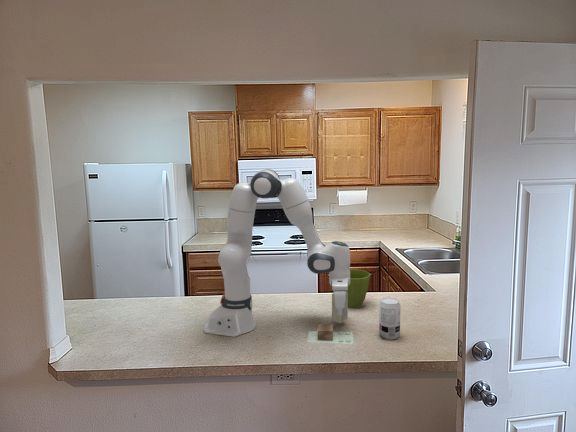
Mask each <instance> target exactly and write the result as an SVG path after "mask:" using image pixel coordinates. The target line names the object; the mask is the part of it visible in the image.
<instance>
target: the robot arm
mask: <svg viewBox="0 0 576 432" xmlns="http://www.w3.org/2000/svg"><path fill="white" fill-rule="evenodd" d="M276 198H277V199H278V201H279V203H280V204H281V206H282V210H283V212H284V214H285V216H286V218H287V219H288V222H289V223H290V224H291V225H292V226H295V227H296V228H298V229H299V232H300V233H301V236H302V237H303V240H304V242H305V244H306V248H307V260H306V262H307V263H306V265H307V267H308V269H309V271H310V272H312V273H314V274H317V275H320V274H327V273H328V274H329V275H328V279H329V280H328V281H329V282H328V284H329V285H330V286H331V290H332V291H333V292H332V293H334V301H335V307H336V308H337V309H338V315H342V309H344V307H345V300H346V292H347V290H348V286H349V285H350V270H351V269H350V267H351V250H350V247H349V245H348V244H347V243H345V242H342V241H337V240H335V241H331V242H330V243H328V244H327V245H325V244H324V243H323V242H322V241H321V239H320V237H319V234H318V232H317V229H316V227H315V225H314V222H313V221H314V219H313V210H312V206H311V204H310V200H309V197H308V196H307V193H306V191H305V189H304V188H303V186H302V185H301V183H300V181H299V180H298V179H296V178H294V177H289V178H288V177H287V178H284V179H281V177H280V175H279V174H278V173H277V172H276V171H275V170H274V169H269V168H268V169H267V168H266V169H262V170H259V171H258V172H257V173H256V174H254V175H253V176H252V178H251V179H250V181H249V182H239V183H237V184H235V185H234V186H233V190H232V191H231V196H230V200H229V204H228V210H227V216H226V217H227V220H226V225H225V226H226V229H227V230H226V233H227V234H226V236H227V239H226V240H227V241H226V243H225V245H224V246H223V247H222V248H221V249H220V251H219V253H218V257H217V261H218V265H219V267H220V268H221V269H220V270H221V273H222V278H223V283H224V294H223V295H222V296H221V298H220V302H219V304H220V305H219V306H217V308H215V309H214V310H213V311H212V312H211V313H210V315H209V320H208V321H207V322H206V323H205V324H204V326H203V332H204V333H205V334H210V335H218V336H225V337H226V336H227V337H233V338H235V337H238V336H240V335H243V334H247V333H250V332H251V331H254V329H256V327H257V325H256V322H255V318H254V315H253V309H252V308H253V298H252V293H251V278H250V276H249V272H248V267H247V264H248V263H247V261H248V259H249V258H250V257H251V254H252V246H253V227H254V221H255V220H254V219H255V215H256V207H257V204H258V203H257V202H258V199H276Z"/></svg>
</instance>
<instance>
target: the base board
mask: <svg viewBox="0 0 576 432" xmlns="http://www.w3.org/2000/svg"><path fill="white" fill-rule="evenodd" d="M307 343H314V344H343V345H344V344H345V345H346V344H348V345H353V344H354V334H353V331H341V330H339V331H333V341H325V340H318V330H308V335H307Z"/></svg>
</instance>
